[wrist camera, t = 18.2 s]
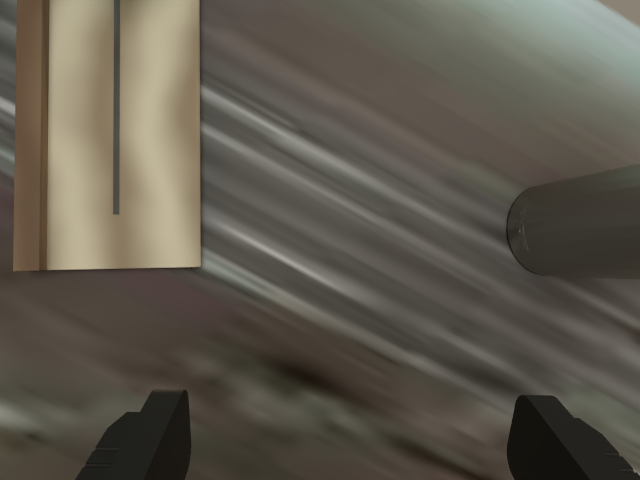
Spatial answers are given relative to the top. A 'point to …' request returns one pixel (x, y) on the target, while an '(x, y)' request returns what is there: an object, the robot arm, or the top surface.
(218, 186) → the top surface
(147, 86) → the board
